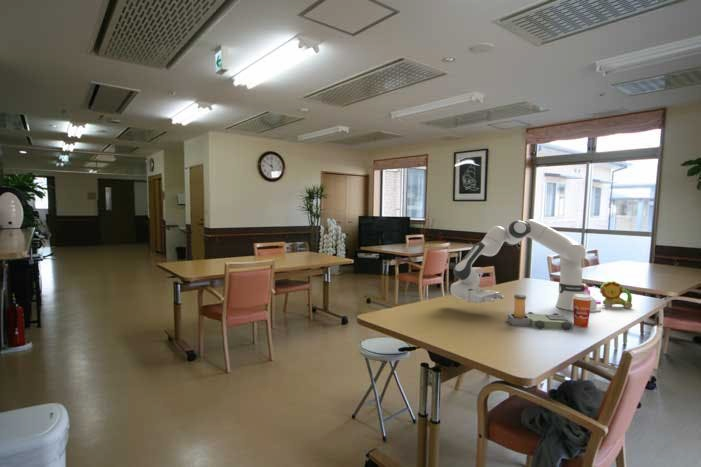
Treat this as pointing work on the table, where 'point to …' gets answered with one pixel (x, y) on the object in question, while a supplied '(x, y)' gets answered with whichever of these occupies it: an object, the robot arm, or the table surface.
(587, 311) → the coffee cup
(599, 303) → the bracket
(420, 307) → the table surface
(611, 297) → the toy lion
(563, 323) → the toy wheeled cart
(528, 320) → the box
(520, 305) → the orange and grey cylinder
